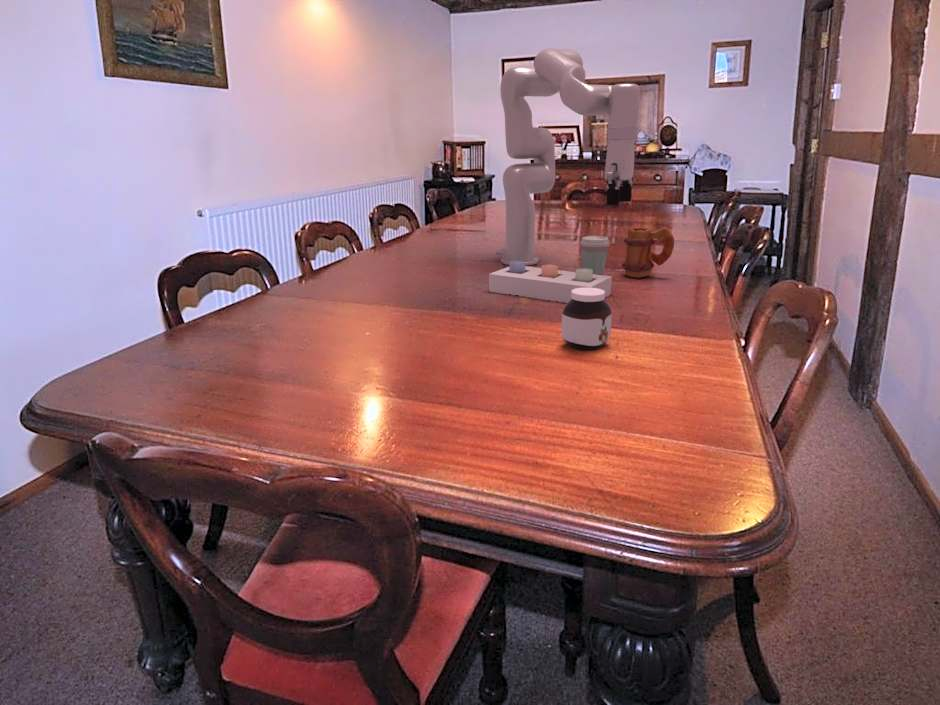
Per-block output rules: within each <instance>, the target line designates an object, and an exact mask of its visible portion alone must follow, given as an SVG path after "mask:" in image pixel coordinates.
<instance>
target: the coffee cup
mask: <svg viewBox="0 0 940 705" xmlns="http://www.w3.org/2000/svg"><path fill="white" fill-rule="evenodd" d="M579 246H580V250H581V263H582V264H581V265H582V266H581V268H587V269H592V270H593V274H596V275H604V273H605V268H606V262H607V256H608V249H609V246H610V241H609V238H608V237H607V236H603V235H602V236H601V235H587V236H583V237H582V238H581V240H580V242H579Z"/></svg>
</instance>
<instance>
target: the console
mask: <svg viewBox="0 0 940 705" xmlns="http://www.w3.org/2000/svg"><path fill="white" fill-rule="evenodd" d="M541 276H542V267H535V266H530V265H525V273H523V274H517V273H510V265H508V266H507V267H503V268H501V269H499V270H496V271H493V272H490V273H488V292H489V293H495V294H502V295H509V294H511V295H510V296H515V295H519V296H518V297H522V296H525V297H524V298H529V297H530V298H529V299H537V300H543V301H549V300H550V302H556V301H558V302H557V303H563V302H564V303H565V304H567V303H568V302H569V301H570V300H571V299H572V298H571V291H572V290H573V289H576V288H585V287H588V288H598V289H601V290H604V291H605V297H606V298H607V297H609V296H611V295H612V280H613V279H612V278H613V276H610V275H604V274H603V275H596V274H593V276H592V282H590V283H588V282H580V281H575V277H576V271H569V270H559V269H558V277H556V278H548V277H541ZM610 294H611V295H610Z"/></svg>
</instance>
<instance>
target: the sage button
mask: <svg viewBox="0 0 940 705" xmlns="http://www.w3.org/2000/svg"><path fill="white" fill-rule="evenodd" d="M575 272H576V277H575V281H580V282H588V283H590V282H592V276H593V270H592V269H587V268H582V267H581V268H576V269H575Z"/></svg>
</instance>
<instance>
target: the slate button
mask: <svg viewBox="0 0 940 705" xmlns="http://www.w3.org/2000/svg"><path fill="white" fill-rule="evenodd" d="M509 266H510V273H517V274H523V273H525V266H526V265H525V262H524V261H511V262H510V265H509Z"/></svg>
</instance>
